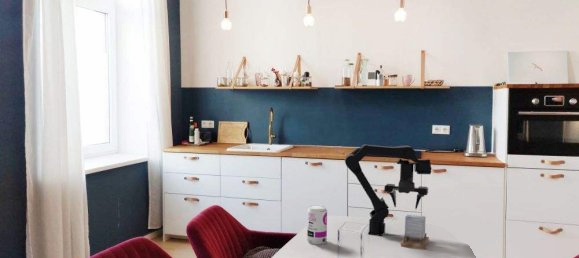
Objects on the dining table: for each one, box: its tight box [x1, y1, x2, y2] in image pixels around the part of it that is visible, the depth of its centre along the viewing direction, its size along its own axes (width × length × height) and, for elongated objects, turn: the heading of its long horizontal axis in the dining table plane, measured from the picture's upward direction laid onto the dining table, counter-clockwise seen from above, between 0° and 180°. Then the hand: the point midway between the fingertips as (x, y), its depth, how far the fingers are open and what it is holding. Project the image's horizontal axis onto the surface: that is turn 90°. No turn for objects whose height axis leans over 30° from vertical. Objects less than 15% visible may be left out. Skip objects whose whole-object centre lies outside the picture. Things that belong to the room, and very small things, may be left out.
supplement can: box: [306, 204, 328, 245], centre depth 205 cm, size 8×8×15 cm
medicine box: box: [404, 214, 426, 238], centre depth 205 cm, size 8×4×9 cm, turn 66°
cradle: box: [400, 232, 430, 250], centre depth 205 cm, size 10×13×3 cm
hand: (405, 208), depth 218 cm, fingers open, 9 cm apart
